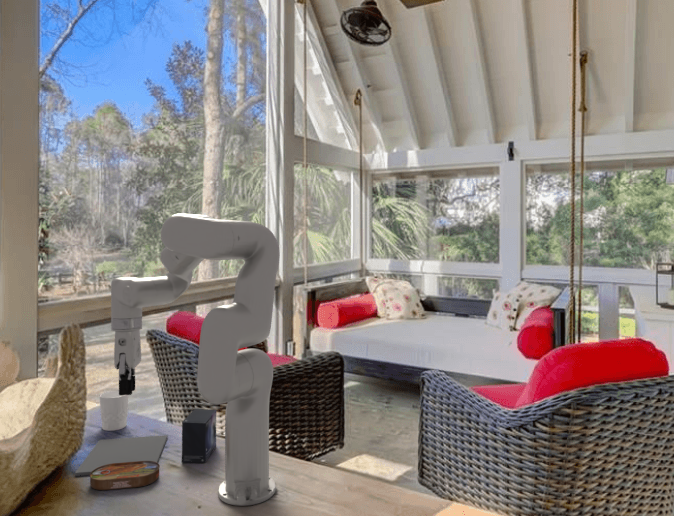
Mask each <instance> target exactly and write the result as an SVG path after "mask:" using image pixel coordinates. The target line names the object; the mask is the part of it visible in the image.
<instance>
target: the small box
mask: <svg viewBox="0 0 674 516" xmlns="http://www.w3.org/2000/svg"><path fill="white" fill-rule="evenodd" d="M216 447H217V409H211V408H210V409H209V408H208V409H205V408H194V409H193V410H192V411H191V412H190V413H189V414H188V415H187V416H186V418H185V419H183V421H182V422H181V463H186V464H187V463H190V464H191V463H192V464H193V463H194V464H206V463H207V461H208V459H209V457H210V456H211V455H212V453H213V452H214V451H215V449H216ZM213 450H214V451H213Z"/></svg>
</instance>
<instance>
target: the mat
mask: <svg viewBox="0 0 674 516" xmlns="http://www.w3.org/2000/svg"><path fill="white" fill-rule="evenodd" d="M168 438H169V437H168V434H167V435H166V434H165V435H164V434H163V435H153V436H137V437H136V436H135V437H124V438H123V437H122V438H120V437H119V438H105V439H99V440H98V442H97V443H95V446H94V447H93V448H92V449H91V450H90V452H89V454H88V455H87V456H86V457H85V458H84V460H83V461H82V463H81V464H80V466H79V467H78V468H77V470H76V471H75V472H74V476H75V477H80V475H81V477H83V476H90V473H91V472H92V471H93V470H94V469H96V468H98V467H100V466H103V465H107V464H112V463H124V462H137V461H154V462H157V463H158V464H159V461H160V459H159V458H161V456H162V453H163V450H164V447H165V446H166V443H167V441H168Z"/></svg>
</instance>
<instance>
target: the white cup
mask: <svg viewBox="0 0 674 516" xmlns="http://www.w3.org/2000/svg"><path fill="white" fill-rule="evenodd" d="M99 405H100V409H99V411H100V419H101V428H102V430H103V431H105V432H107V431H109V432H113V431H118V430H122V429H124V428H126V427H127V424H128V420H127V418H128V414H129V413H128V412H129V411H128V410H129V395H119V389H117V390H108V391H105V392H102V393H100V395H99Z"/></svg>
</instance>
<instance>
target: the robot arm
mask: <svg viewBox="0 0 674 516" xmlns="http://www.w3.org/2000/svg"><path fill="white" fill-rule="evenodd" d="M160 239H161V240H160V241H161V242H162V244H163V246H164V247H163V249H162V250H161V253H160V261H161V263H162V265H163V267H164V268H165V270H166V271H168V272H167V274H165V275H163V276H148V277H136V276H121V277H115V278H112V280H111V284H110V300H111V302H110V307H111V308H110V313H111V314H110V317H111V318H110V328H111V332H114V352H113V353H114V354H113V357H114V358H113V360H114V368H115V369H116V370H118V390H119V395H128V396H132V395H133V392H134V391H136V368H137V366H138V365H139V364H140V363H141V361H142V346H141V344H142V343H141V333H140V332H141V331H140V330H142V329H143V308H149V307H155V306H164V305H169V304H171V303H173V302H175V301H176V300H178V299H179V298H180V297H181V296H182V295H183V294H184V293H186V291H188V289H189V288H190V286H191V284H192V283H191V282H192V280H193V271H194V270H195V269H196V268H197V267H198V266H199V265H200V264H201V263H202V262H203V261H204V260H209V261H210V260H211V261H226V260H227V261H229V260H232V261H233V260H243V261H244V263H243V265H242V267H241V268H240V269H239V272H238V274H237V276H236V281H235V286H234V296H233V300H232V303H230V304H229V303H228V304H223V305H219V306H216V307H214V308H213V309H211V310H210V311H208V313H207V314H206V315H205V317H204V318H203V319H204V320H203V322H202V323H201V328H200V336H199V344H198V345H199V346H198V347H199V349H198V358H197V359H198V360H197V371H196V372H197V373H196V380H197V387H198V392H199V394H200V395H201V397H202V399H203V400H204V401H205V402H207V403H209V404H210V405H223V404H226V408H225V415H224V416H225V417H224V418H225V419H224V420H225V421H224V433H225V434H224V436H225V437H224V438H225V439H224V441H225V442H224V444H225V445H224V449H225V451H224V453H225V454H224V456H225V457H224V461H225V463H224V464H225V466H224V467H225V468H224V469H225V472H224V473H225V475H224V477H225V480H224V481H223V482H221V483H220V484H219V486H218V489H217V493H218V494H217V495H218V498H219V499H220V500H221V501H222V502H223V503H225V504H228V505H233V506H239V507H241V506H243V507H245V506H247V507H248V506H252V505H257V504H260V503H264V502H266V501H267V500H269V499H270V498H272V497H273V495H274V494H275V493H276V491H277V483H276V481H275V480H274V479H273V478H272V477H270V434H269V433H270V428H269V427H270V398H271V389H272V385H273V379H274V365H273V362H272V359H271V358H270V356H269V355H268V353H266V352H265V351H263V350H262V349H259V348H247V347H251V346H255V345H257V344H260V343H262V342H264V341H266V340H267V338H269V335H270V333H271V327H272V319H273V310H274V301H275V300H274V299H275V290H276V289H275V287H276V281H277V280H276V279H277V274H278V270H279V264H280V247H279V242H278V240H277V238H276V236H275V234H274V233H273V232H272V231H271V229H269V228H268V227H266V226H265V225H263V224H260V223H257V222H255V221H249V220H234V219H233V220H231V219H216V218H215V217H212V216H210V215H206V214H195V213H194V214H193V213H179V212H178V213H174V214H172V215H171V216H169V217H168V218H166V219H165V221H164V222H163V224H162V225H161V230H160ZM244 348H245V349H244Z"/></svg>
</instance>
